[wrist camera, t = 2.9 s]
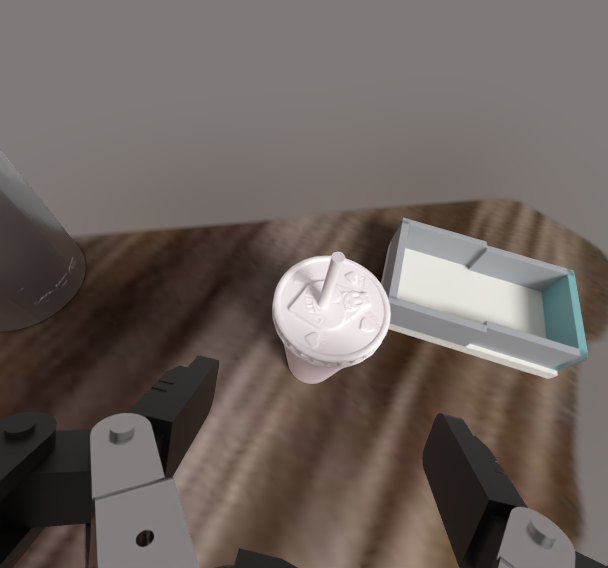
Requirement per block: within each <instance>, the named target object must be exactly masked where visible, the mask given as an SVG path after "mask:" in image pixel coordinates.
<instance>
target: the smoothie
mask: <svg viewBox="0 0 608 568" xmlns="http://www.w3.org/2000/svg"><path fill="white" fill-rule="evenodd" d="M390 317H391V311H390V304H389V300H388V297H387V294H386V292H385V290H384V288H383V286H382V285H381V283H380V282H379V281H378V279H377V278H376V277H375V276H374V275H373V274H372V273H371V272H370V271H368V270H367V269H366V268H364V267H363V266H361V265H359V264H358V263H356V262H353V261H351V260H348V259H345V256H344V254H342V253H340V252H335V253H333V255H332V256H317V257H312V258H308V259H305V260H303V261H301V262H299V263H297V264H295V265H294V266H292V267H291V268H290V269H289V270H288V271H287V272H286V273H285V274H284V275H283V276H282V278H281V279H280V281H279V283H278V285H277V287H276V290H275V294H274V300H273V304H272V318H273V322H274V325H275V328H276V332H277V334H278V335H279V337H280V338H281V340H282V341H283V343H284V348H285V352H286V357H287V361H288V366H289V369H290V371H291V372H292V374H293V375H294V376H295V377H296V378H297V379H298V380H300V381H302V382H305V383H309V384H315V383H319V382H322V381H324V380H325V379H327V378H328V377H330V376H331V375H333V374H334V373H336V372H337V371H339V370H340V369H342V368H345V367H348V366H352V365H355V364H358V363H360V362H362V361H363V360H365V359H366V358H368V357H369V356H371V355H372V354H373V353H374V352H375V350H376V349H377V348H378V347H379V345H380V344H381V342H382V340H383V339H384V337H385V335H386V333H387V331H388V328H389V324H390Z"/></svg>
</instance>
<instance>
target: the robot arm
mask: <svg viewBox="0 0 608 568" xmlns="http://www.w3.org/2000/svg"><path fill="white" fill-rule="evenodd" d="M85 271H86V262H85V257H84V255H83V253H82V251H81V249H80V248H79V247H78V246H77V244H76V243H75V242H74V241H73V239H72V238H71V237H70V236H69V234H68V233H67V232H66V231H65V229H64V228H63V227H62V226H61V225H60V223H59V222H58V221H57V219H56V218H55V217H54V215H53V214H52V213H51V212H50V210H49V209H48V208H47V207H46V206H45V204H44V203H43V202H42V201H41V200H40V198H39V197H38V196H37V195H36V193H35V192H34V191H33V190H32V188H31V187H30V186H29V185H28V183H27V182H26V181H25V180H24V178H23V177H22V176H21V175H20V174H19V172H18V171H17V170H16V169H15V167H14V166H13V165H12V164H11V162H10V161H9V160H8V159H7V158H6V156H5V155H4V154H3V152H2V151H1V150H0V332H1V331H13V330H17V329H22V328H26V327H29V326H31V325H34V324H36V323H39V322H41V321H43V320H45V319H47V318H48V317H50V316H52V315H54V314H55V313H56V312H58V311H59V310H60V309H62V308H63V307H64V306H65V305H66V304H67V303H68V302H69V301H70V300H71V299H72V298H73V297H74V296H75V294H76V293H77V291H78V290H79V288H80V286H81V285H82V282H83V279H84V277H85ZM218 368H219V360H215V359H211V358H207V357H202V356H197V357H196V359H195V360H194V361H193V362H192V363H191V364H190V365H189V367H188V368H187V367H183V366H178V367H176V368H174V369H171V370H169V371H167V372H166V373H165V374H164V375H163V376H162V377H161V378H160V379H159V381H158V382H156V383H155V384H154V385H153V386H152V388H151V389H150V390H149V391H148V392H147V393H146V394H145V395H144V396H143V397H142V398H141V399H140V400H139V401H138V402H137V403H136V404H135V405H134V406H133V407H132V408H131V409H130V410H129V411H128V412H127V413H123V414H117V415H113V416H110V417H107V418H105V419H103V420H102V421H100V422H99V423H97V424H96V425H95V426H94V428H93V429H92V430H77V431H56V420H55V418H54V417H53V416H51V415H50V414H47V413H44V412H22V413H17V414H13V415H10V416H7V417H4V418H2V419H0V568H13V567H14V565H15V564H16V563H17V562H18V560H19V559H20V558H21V557H22V555H23V554H24V553H25V552H26V550H27V549H28V548H29V547H30V545H31V544H32V543H33V542H34V540H35V539H36V538H37V537H38V536H39V534H40V533H41V532H42V531H43V529H44V528H45V527H49V526H61V525H73V524H84V536H85V568H199V565H198V561H197V558H196V554H195V551H194V547H193V544H192V540H191V537H190V533H189V530H188V526H187V523H186V519H185V516H184V512H183V509H182V505H181V502H180V498H179V495H178V491H177V488H176V484H175V481H174V479H173V475H174V473H175V471H176V470H177V468H178V466H179V464H180V463H181V461H182V459H183V458H184V456H185V454H186V452H187V451H188V449H189V447H190V445H191V444H192V442H193V440H194V438H195V437H196V435H197V433H198V431H199V430H200V428H201V426H202V425H203V423H204V421H205V419H206V418H207V416H208V414H209V411H210V409H211V406H212V402H213V398H214V392H215V386H216V380H217V374H218ZM423 468H424V471H425V474H426V476H427V479H428V482H429V485H430V487H431V490H432V493H433V496H434V499H435V501H436V504H437V507H438V510H439V513H440V515H441V518H442V521H443V524H444V526H445V529H446V532H447V535H448V538H449V540H450V543H451V546H452V549H453V551H454V554H455V557H456V560H457V563H458V565H459V567H460V568H608V566H605V565H603V564H601V563H599V562H597V561H595V560H593V559H591V558H589V557H586V556H584V555H582V554H580V553H578V552H576V551H575V550H574V547H573V545H572V543H571V541H570V540H569V538H568V537H567V536H566V535H565V533H564V532H563V531H562V530H561V529H560V528H559V527H558V526H556V525H555V524H554V523H553V522H552V521H550V520H549V519H548V518H546V517H545V516H543V515H541V514H540V513H538V512H536V511H534V510H531V509H528V507H527V506H526V504H525V503H524V501H523V500H522V498H521V497H520V495H519V494H518V492H517V490H516V489H515V487H514V486H513V484H512V483H511V481H510V480H509V478H508V477H507V475H505V474H504V471H503V469H502V468H501V466H500V465H499V464H497V460H496V458H495V457H494V455H493V454H492V452H491V451H490V449H489V448H488V447H487V446H486V445H485V444H483V443H482V442H481V441H480V440H479V439H478V438H477V437H476V436H473V434H472V433H471V431H470V430H469V428H468V426H467V425H466V423H465V422H464V420H463V419H462V418H458V417H454V416H450V415H446V414H441V413H440V414H438V415H437V416H436V418H435V420H434V423H433V426H432V428H431V431H430V434H429V437H428V439H427V442H426V445H425V448H424V451H423ZM216 568H297V567H295V566H294V565H292V564H290V563H288V562H286V561H285V560H283V559H280V558H276V557H272V556H268V555H264V554H260V553H256V552H252V551H248V550H244V549H240V548H239V550H238V554H237V558H236V562H235V565H227V566H221V567H216Z"/></svg>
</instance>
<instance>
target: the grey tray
mask: <svg viewBox="0 0 608 568" xmlns="http://www.w3.org/2000/svg"><path fill="white" fill-rule="evenodd" d="M381 285H382V286H383V288H384V290H385V292H386V294H387V297H388V300H389V304H390V311H391V317H390V324H389V328H388V329H390V330H394V331H397V332H400V333H403V334H406V335H410V336H413V337H416V338H419V339H422V340H426V341H429V342H432V343H435V344H438V345H442V346H445V347H448V348H451V349H454V350H458V351H461V352H464V353H467V354H470V355H474V356H477V357H480V358H483V359H486V360H490V361H493V362H496V363H499V364H502V365H506V366H509V367H512V368H515V369H518V370H522V371H525V372H528V373H531V374H534V375H538V376H541V377H544V378H547V379H549V378H552V377H555V376H558V375H557V371H558V370H560V369H563V368H566V367H569V366H571V365H574V364H577V363H580V362H582V361H585V360H588V359H589V358H588V352H587V346H586V340H585V334H584V328H583V322H582V316H581V310H580V304H579V298H578V292H577V286H576V280H575V275H574V271H573V270H569V269H566V268H563V267H559V266H556V265H552V264H549V263H545V262H542V261H538V260H535V259H532V258H528V257H525V256H521V255H518V254H514V253H511V252H508V251H504V250H501V249H497V248H494V247H490V246H487V242H485V241H482V240H478V239H475V238H471V237H468V236H465V235H461V234H458V233H454V232H451V231H447V230H444V229H440V228H437V227H434V226H430V225H427V224H423V223H420V222H416V221H413V220H409V219H406V218H403V219H402V221H401V223H400V225H399V227H398V229H397V231H396V233H395V234H394V236H393V238H392V240H391V242H390V244H389V246H388V251H387V256H386V261H385V266H384V271H383V276H382V281H381Z"/></svg>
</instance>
